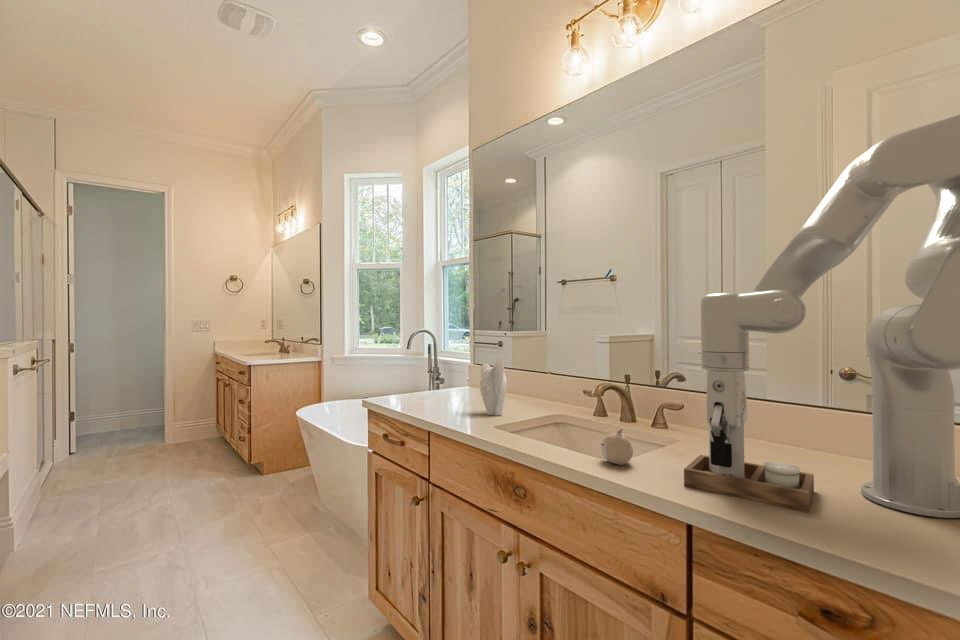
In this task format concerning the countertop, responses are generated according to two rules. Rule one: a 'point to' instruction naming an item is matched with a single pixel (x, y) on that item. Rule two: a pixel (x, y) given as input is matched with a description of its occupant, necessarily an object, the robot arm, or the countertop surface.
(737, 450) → the skincare box
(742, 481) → the walnut caddy
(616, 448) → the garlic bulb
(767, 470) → the cream jar
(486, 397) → the shell sculpture
